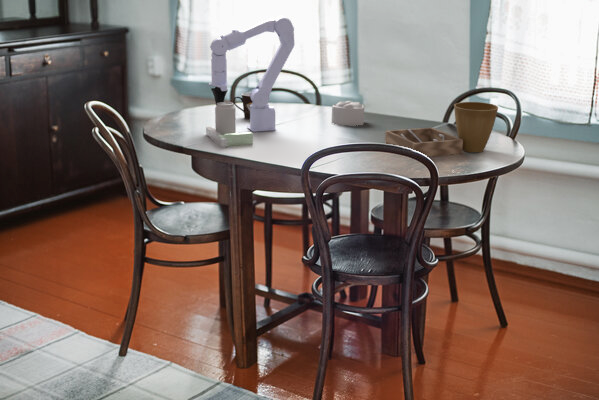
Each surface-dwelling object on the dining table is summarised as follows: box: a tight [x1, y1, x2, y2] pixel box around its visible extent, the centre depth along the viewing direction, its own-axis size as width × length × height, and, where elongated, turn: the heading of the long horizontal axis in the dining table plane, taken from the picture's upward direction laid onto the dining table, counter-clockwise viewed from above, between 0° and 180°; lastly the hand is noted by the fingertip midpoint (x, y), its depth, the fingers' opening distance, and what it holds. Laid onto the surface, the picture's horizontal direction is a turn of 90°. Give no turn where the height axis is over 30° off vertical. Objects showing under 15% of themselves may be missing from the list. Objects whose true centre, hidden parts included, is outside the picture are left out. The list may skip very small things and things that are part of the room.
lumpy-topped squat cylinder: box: [331, 100, 365, 127], centre depth 308 cm, size 10×13×9 cm
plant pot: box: [453, 101, 499, 153], centre depth 265 cm, size 15×15×16 cm
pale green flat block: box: [205, 126, 254, 149], centre depth 277 cm, size 12×22×4 cm, turn 21°
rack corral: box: [384, 127, 463, 158], centre depth 267 cm, size 19×21×5 cm
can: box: [214, 101, 237, 136], centre depth 284 cm, size 8×8×12 cm
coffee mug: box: [232, 92, 253, 121], centre depth 315 cm, size 12×9×10 cm
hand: (219, 106), depth 290 cm, fingers closed
